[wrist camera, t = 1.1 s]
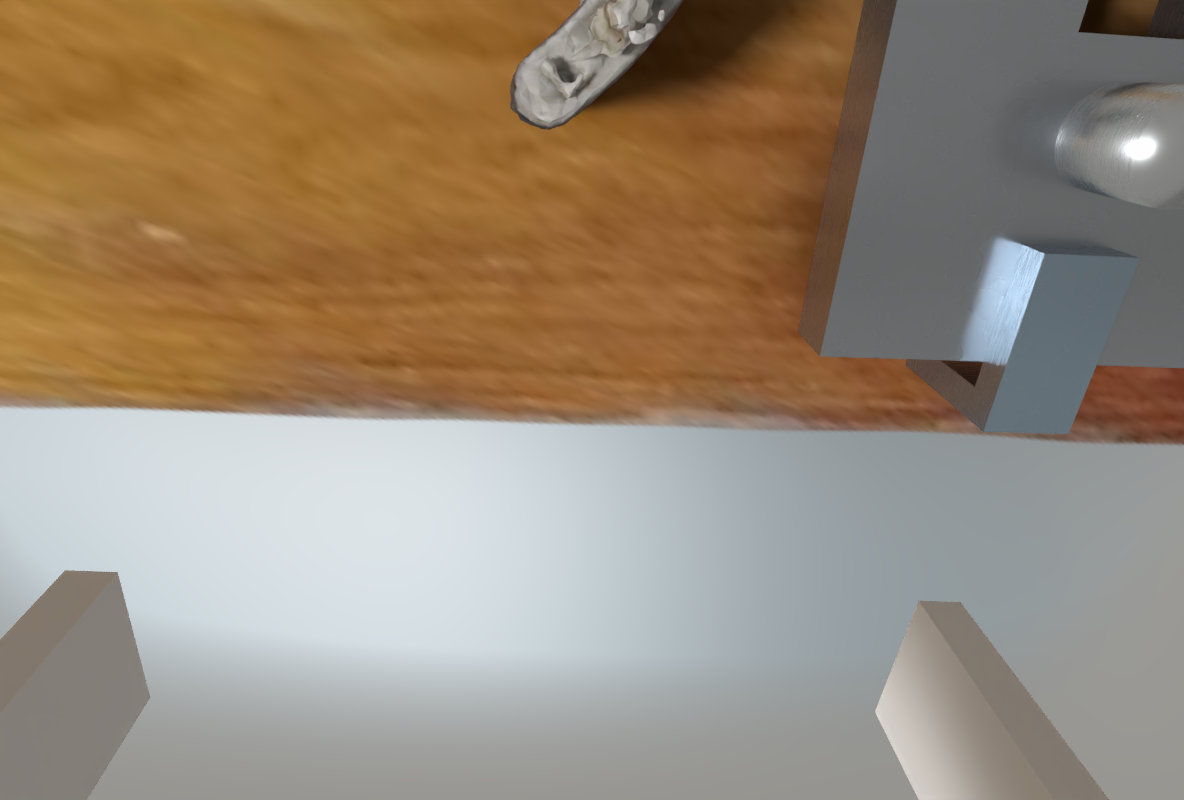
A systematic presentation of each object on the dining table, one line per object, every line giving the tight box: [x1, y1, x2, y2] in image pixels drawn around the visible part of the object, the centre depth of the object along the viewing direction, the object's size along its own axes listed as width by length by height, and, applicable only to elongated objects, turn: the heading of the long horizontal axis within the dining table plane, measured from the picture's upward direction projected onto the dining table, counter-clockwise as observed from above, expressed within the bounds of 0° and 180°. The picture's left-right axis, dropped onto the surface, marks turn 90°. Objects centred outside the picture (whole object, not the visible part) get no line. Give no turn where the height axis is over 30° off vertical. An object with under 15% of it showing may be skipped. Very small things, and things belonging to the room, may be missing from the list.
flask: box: [510, 0, 683, 130], centre depth 25 cm, size 9×3×11 cm, turn 138°
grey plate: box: [798, 0, 1184, 434], centre depth 29 cm, size 22×19×10 cm
